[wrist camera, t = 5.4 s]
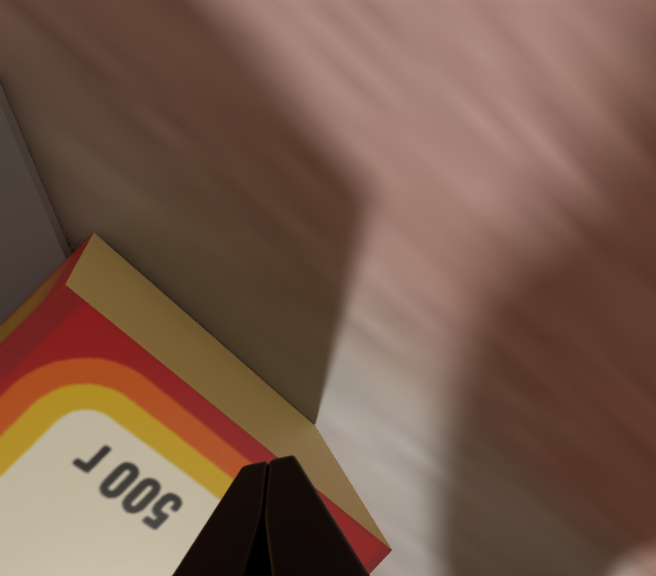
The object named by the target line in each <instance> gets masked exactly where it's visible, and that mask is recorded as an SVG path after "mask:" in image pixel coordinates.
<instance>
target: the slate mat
mask: <svg viewBox="0 0 656 576" xmlns="http://www.w3.org/2000/svg"><path fill="white" fill-rule="evenodd" d="M70 255H72V253H71V251H70V248H69V246H68V243H67V241H66V239H65V236H64V234H63V231H62V229H61V227H60V224H59V222H58V219H57V217H56V215H55V212H54V210H53V208H52V205H51V203H50V200H49V198H48V196H47V193H46V191H45V188H44V186H43V184H42V181H41V179H40V176H39V174H38V172H37V169H36V167H35V164H34V162H33V160H32V157H31V155H30V152H29V150H28V148H27V145H26V143H25V140H24V138H23V136H22V133H21V131H20V129H19V126H18V124H17V121H16V119H15V117H14V114H13V112H12V109H11V107H10V105H9V102H8V100H7V97H6V95H5V93H4V90H3V88H2V85H1V83H0V324H1V323H2V322H3V321H4V320H5V319H6V318H7V317H8V316H9V315H10V314H11V313H12V312H14V311H15V310H16V309H17V308H18V307H19V306H20V305H21V304H22V303H23V302H24V301H25V300H26V299H27V298H28V297H29V296H30V295H31V294H32V293H33V292H34V291H35V290H36V289H37V288H38V287H39V286H40V285H41V284H42V283H43V282H44V281H45V280H46V279H47V278H48V277H49V276H50V275H51V274H52V273H53V272H54V271H55V270H56V269H57V268H58V267H59V266H60V265H61V264H62V263H63V262H64V261H65V260H66V259H67V258H68V257H69V256H70Z"/></svg>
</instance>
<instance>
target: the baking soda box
mask: <svg viewBox="0 0 656 576" xmlns="http://www.w3.org/2000/svg"><path fill="white" fill-rule="evenodd" d="M289 455H293V456H295V457H296V458H297V460H298V461H299V463H300V464H301V466H302V468H303V469H304V471H305V472H306V474H307V476H308V477H309V479H310V480H311V482H312V484H313V485H314V487H315V488H316V490H317V492H318V493H319V495H320V496H321V498H322V500H323V501H324V503H325V504H326V506H327V508H328V509H329V511H330V512H331V514H332V516H333V517H334V519H335V520H336V522H337V524H338V525H339V527H340V528H341V530H342V532H343V533H344V535H345V537H346V538H347V540H348V541H349V543H350V545H351V546H352V548H353V549H354V551H355V553H356V554H357V556H358V557H359V559H360V561H361V562H362V564H363V565H364V567H365V569H366V570H367V572H368V573H369V574H370V573H371V572H372V571H373V570H374V569H375V568H376V567H377V566H378V565H379V563H380V562H381V561H382V560H383V559H384V558H385V557H386V556H387V555H388V554H389V553H390V552H391V551H392V549H391V548H390V546H389V544H388V543H387V541H386V539H385V538H384V536H383V535H382V533H381V531H380V530H379V528H378V527H377V525H376V523H375V522H374V520H373V518H372V517H371V515H370V514H369V512H368V510H367V509H366V507H365V506H364V504H363V502H362V501H361V499H360V497H359V496H358V494H357V493H356V491H355V489H354V488H353V486H352V485H351V483H350V481H349V480H348V478H347V476H346V475H345V473H344V472H343V470H342V468H341V467H340V465H339V464H338V462H337V460H336V459H335V457H334V455H333V454H332V452H331V451H330V449H329V447H328V446H327V444H326V443H325V441H324V439H323V438H322V436H321V434H320V433H319V431H318V430H317V428H316V426H315V425H313V424H312V423H311V422H310V421H309V420H308V419H307V418H305V417H304V416H303V415H302V414H301V413H300V412H299V411H297V410H296V409H295V408H294V407H293V406H292V405H291V404H289V403H288V402H287V401H286V400H285V399H284V398H283V397H281V396H280V395H279V394H278V393H277V392H276V391H275V390H273V389H272V388H271V387H270V386H269V385H268V384H267V383H265V382H264V381H263V380H262V379H261V378H260V377H258V376H257V375H256V374H255V373H254V372H253V371H252V370H250V369H249V368H248V367H247V366H246V365H245V364H244V363H242V362H241V361H240V360H239V359H238V358H237V357H236V356H234V355H233V354H232V353H231V352H230V351H229V350H228V349H226V348H225V347H224V346H223V345H222V344H221V343H220V342H218V341H217V340H216V339H215V338H214V337H213V336H212V335H210V334H209V333H208V332H207V331H206V330H205V329H204V328H202V327H201V326H200V325H199V324H198V323H197V322H196V321H194V320H193V319H192V318H191V317H190V316H189V315H188V314H186V313H185V312H184V311H183V310H182V309H181V308H180V307H178V306H177V305H176V304H175V303H174V302H173V301H171V300H170V299H169V298H168V297H167V296H166V295H165V294H163V293H162V292H161V291H160V290H159V289H158V288H157V287H155V286H154V285H153V284H152V283H151V282H150V281H149V280H147V279H146V278H145V277H144V276H143V275H142V274H141V273H139V272H138V271H137V270H136V269H135V268H134V267H133V266H131V265H130V264H129V263H128V262H127V261H126V260H125V259H123V258H122V257H121V256H120V255H119V254H118V253H117V252H115V251H114V250H113V249H112V248H111V247H110V246H109V245H107V244H106V243H105V242H104V241H103V240H102V239H101V238H99V237H98V236H97V235H96V234H95V233H93V234H92V235H91V236H90V237H89V238H88V239H87V240H86V241H85V242H84V243H83V244H82V245H81V246H80V247H79V248H78V249H77V250H76V251H75V252H74V253H73V254H72V255H70V256H69V257H68V258H67V259H66V260H65V261H64V262H63V263H62V264H61V265H60V266H59V267H58V268H57V269H56V270H55V271H54V272H53V273H52V274H51V275H50V276H49V277H48V278H47V279H46V280H45V281H44V282H43V283H42V284H41V285H40V286H39V287H38V288H37V289H36V290H35V291H34V292H33V293H32V294H31V295H30V296H29V297H28V298H27V299H26V300H25V301H24V302H23V303H22V304H21V305H20V306H19V307H18V308H17V309H16V310H15V311H14V312H12V313H11V314H10V315H9V316H8V317H7V318H6V319H5V320H4V321H3V322H2V323H1V324H0V576H172V575H173V573H174V572H175V570H176V568H177V567H178V565H179V564H180V562H181V561H182V559H183V558H184V556H185V555H186V553H187V551H188V550H189V548H190V547H191V545H192V544H193V542H194V541H195V539H196V537H197V536H198V534H199V533H200V531H201V530H202V528H203V527H204V525H205V523H206V522H207V520H208V519H209V517H210V516H211V514H212V513H213V511H214V510H215V508H216V506H217V505H218V503H219V502H220V500H221V499H222V497H223V496H224V494H225V492H226V491H227V489H228V488H229V486H230V485H231V483H232V482H233V480H234V478H235V477H236V475H237V474H238V472H239V471H240V469H241V468H242V467H243V466H245V465H249V464H253V463H258V462H262V461H266V462H268V463H270V461H271V460H272V459H276V458H280V457H285V456H289Z"/></svg>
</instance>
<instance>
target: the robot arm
mask: <svg viewBox="0 0 656 576" xmlns="http://www.w3.org/2000/svg"><path fill="white" fill-rule="evenodd" d="M172 576H370V575H369V573H368V572H367V570H366V569H365V567H364V565H363V564H362V562H361V561H360V559H359V557H358V556H357V554H356V553H355V551H354V549H353V548H352V546H351V545H350V543H349V541H348V540H347V538H346V537H345V535H344V533H343V532H342V530H341V528H340V527H339V525H338V524H337V522H336V520H335V519H334V517H333V516H332V514H331V512H330V511H329V509H328V508H327V506H326V504H325V503H324V501H323V500H322V498H321V496H320V495H319V493H318V492H317V490H316V488H315V487H314V485H313V484H312V482H311V480H310V479H309V477H308V476H307V474H306V472H305V471H304V469H303V468H302V466H301V464H300V463H299V461H298V460H297V458H296V457H295V456H293V455H289V456H285V457H280V458H276V459H272V460H271V461H270V463H268V462H266V461H262V462H258V463H253V464H249V465H245V466H243V467H242V468H241V469H240V471H239V472H238V474H237V475H236V477H235V478H234V480H233V482H232V483H231V485H230V486H229V488H228V489H227V491H226V492H225V494H224V496H223V497H222V499H221V500H220V502H219V503H218V505H217V506H216V508H215V510H214V511H213V513H212V514H211V516H210V517H209V519H208V520H207V522H206V523H205V525H204V527H203V528H202V530H201V531H200V533H199V534H198V536H197V537H196V539H195V541H194V542H193V544H192V545H191V547H190V548H189V550H188V551H187V553H186V555H185V556H184V558H183V559H182V561H181V562H180V564H179V565H178V567H177V568H176V570H175V572H174V573H173V575H172Z"/></svg>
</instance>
